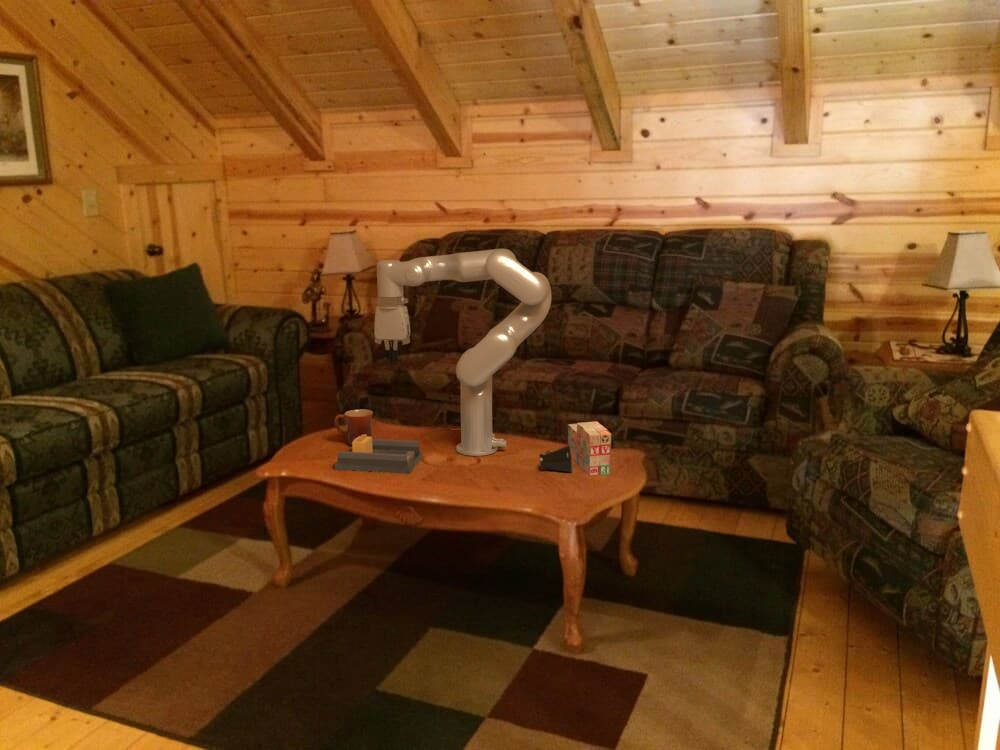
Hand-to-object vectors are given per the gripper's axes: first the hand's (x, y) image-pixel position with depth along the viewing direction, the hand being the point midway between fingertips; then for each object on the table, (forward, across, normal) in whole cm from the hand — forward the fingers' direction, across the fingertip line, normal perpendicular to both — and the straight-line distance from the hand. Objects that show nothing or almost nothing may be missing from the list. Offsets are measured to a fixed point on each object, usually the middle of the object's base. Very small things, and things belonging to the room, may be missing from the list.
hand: (393, 362), depth 256 cm
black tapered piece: (+28, -50, +8) cm, 58 cm away
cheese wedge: (+25, +6, +15) cm, 30 cm away
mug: (+27, +14, -2) cm, 31 cm away
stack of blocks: (+28, -60, +5) cm, 66 cm away
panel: (+27, 0, +15) cm, 31 cm away
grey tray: (+25, 0, +15) cm, 29 cm away
